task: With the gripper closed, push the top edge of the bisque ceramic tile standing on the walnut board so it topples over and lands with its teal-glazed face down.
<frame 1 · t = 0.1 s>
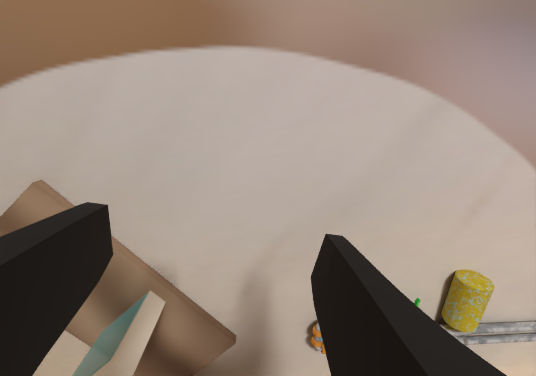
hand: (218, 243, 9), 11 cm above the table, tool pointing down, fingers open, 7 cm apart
board: (114, 299, 22), on the table
flamethrower: (456, 308, 25), on the table
tile: (133, 316, 21), point 1 cm above the table, touching board
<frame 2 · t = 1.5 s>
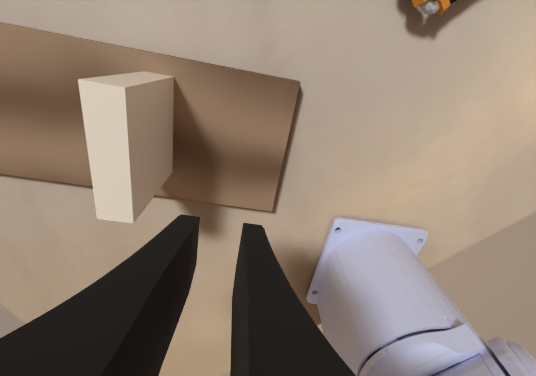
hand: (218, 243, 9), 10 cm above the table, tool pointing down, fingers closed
board: (132, 125, 17), on the table
tile: (159, 126, 16), point 1 cm above the table, touching board
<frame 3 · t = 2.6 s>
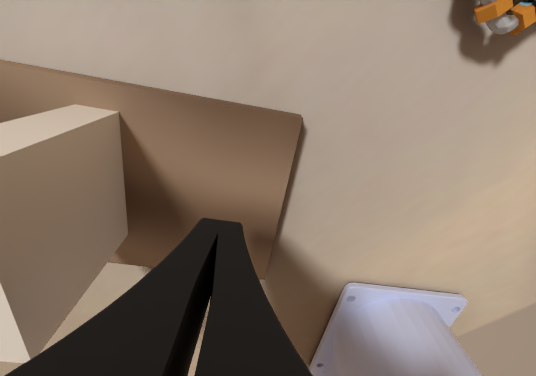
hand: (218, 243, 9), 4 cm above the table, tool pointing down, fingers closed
board: (70, 173, 12), on the table
tile: (104, 177, 11), point 1 cm above the table, touching board
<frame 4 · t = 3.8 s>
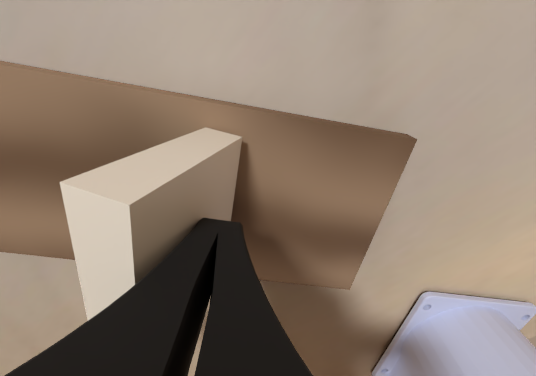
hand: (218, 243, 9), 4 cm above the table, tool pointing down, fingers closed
board: (178, 189, 12), on the table
tile: (216, 197, 12), point 1 cm above the table, tilted 17°, touching board
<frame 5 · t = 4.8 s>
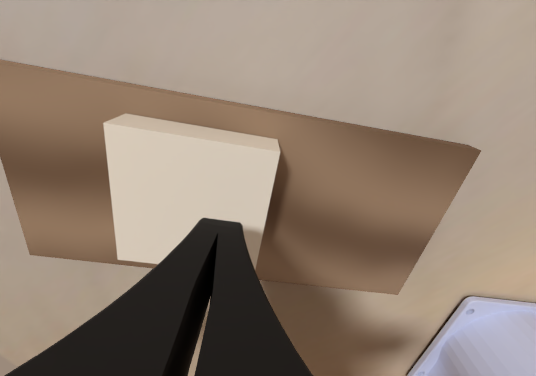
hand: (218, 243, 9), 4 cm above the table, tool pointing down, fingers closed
board: (239, 198, 13), on the table
tile: (265, 210, 11), point 2 cm above the table, tilted 90°, touching board
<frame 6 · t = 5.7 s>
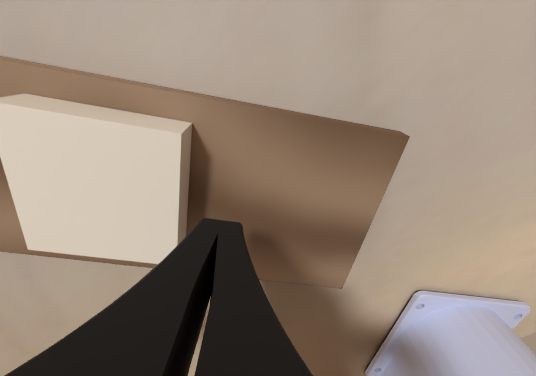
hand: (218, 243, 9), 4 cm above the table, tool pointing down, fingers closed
board: (167, 187, 12), on the table
tile: (183, 198, 11), point 2 cm above the table, tilted 90°, touching board
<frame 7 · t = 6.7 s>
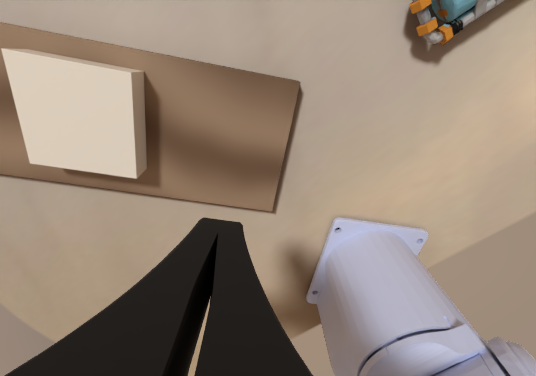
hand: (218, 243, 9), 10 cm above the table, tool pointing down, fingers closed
board: (132, 125, 17), on the table
tile: (140, 127, 15), point 2 cm above the table, tilted 90°, touching board
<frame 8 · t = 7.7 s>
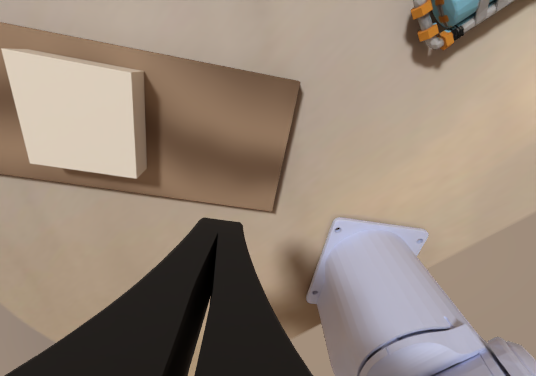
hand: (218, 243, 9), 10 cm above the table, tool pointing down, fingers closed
board: (132, 125, 17), on the table
tile: (140, 127, 15), point 2 cm above the table, tilted 90°, touching board
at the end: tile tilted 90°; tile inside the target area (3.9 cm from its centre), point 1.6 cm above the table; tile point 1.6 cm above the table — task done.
